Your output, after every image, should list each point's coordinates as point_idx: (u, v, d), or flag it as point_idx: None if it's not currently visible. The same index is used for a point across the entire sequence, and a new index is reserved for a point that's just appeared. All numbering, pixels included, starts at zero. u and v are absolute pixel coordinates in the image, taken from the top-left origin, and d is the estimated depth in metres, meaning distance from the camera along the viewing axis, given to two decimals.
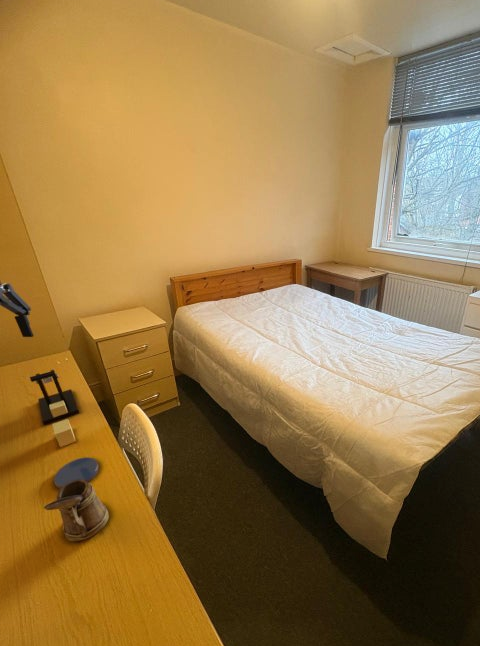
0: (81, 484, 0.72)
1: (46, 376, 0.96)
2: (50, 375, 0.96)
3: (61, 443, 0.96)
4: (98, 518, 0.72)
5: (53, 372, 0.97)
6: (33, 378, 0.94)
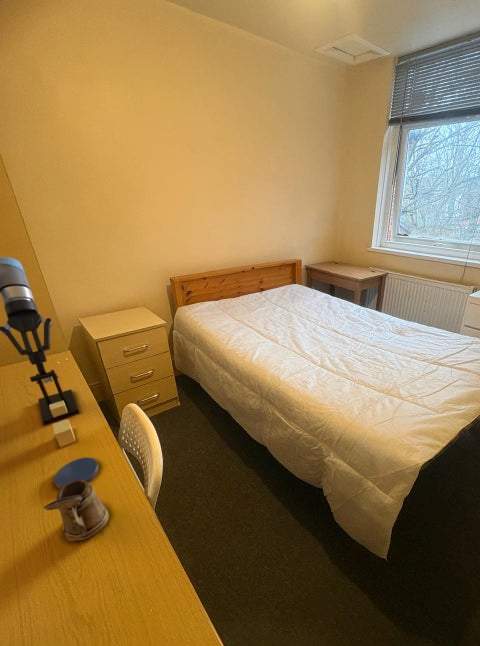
0: (81, 484, 0.72)
1: (46, 376, 0.96)
2: (50, 375, 0.96)
3: (61, 443, 0.96)
4: (98, 518, 0.72)
5: (53, 372, 0.97)
6: (33, 378, 0.94)
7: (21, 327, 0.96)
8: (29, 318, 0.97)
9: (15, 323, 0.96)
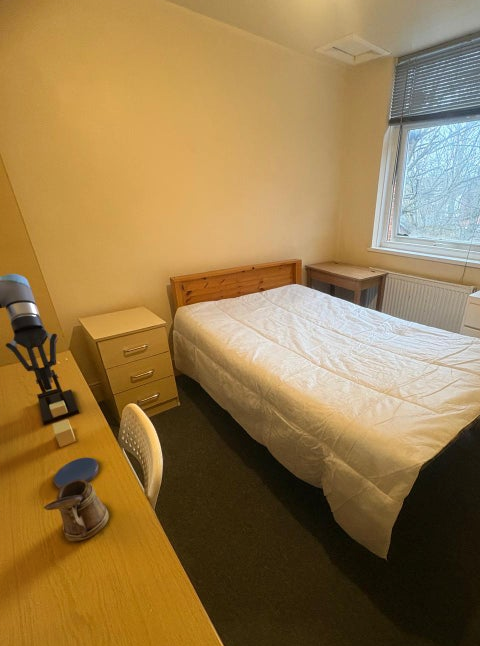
0: (81, 484, 0.72)
1: (53, 394, 0.97)
2: (57, 393, 0.98)
3: (61, 443, 0.96)
4: (98, 518, 0.72)
5: (60, 390, 0.98)
6: (40, 396, 0.95)
7: (27, 343, 0.97)
8: (35, 334, 0.99)
9: (21, 339, 0.97)
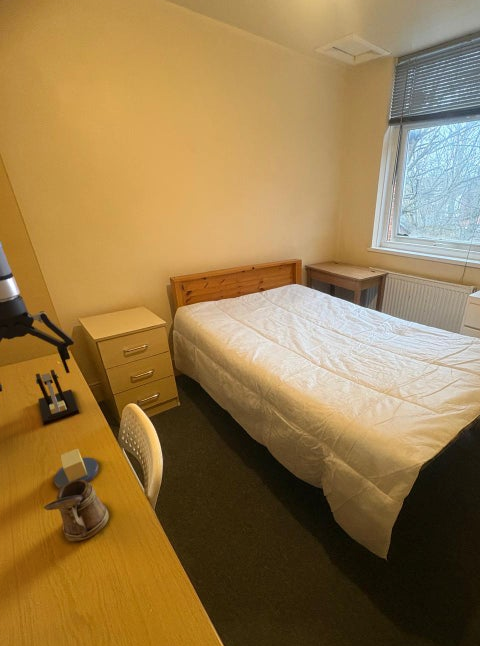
0: (81, 484, 0.72)
1: None
2: None
3: (71, 478, 0.83)
4: (98, 518, 0.72)
5: (69, 412, 1.04)
6: (51, 418, 1.01)
7: None
8: (19, 326, 0.72)
9: None
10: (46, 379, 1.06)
